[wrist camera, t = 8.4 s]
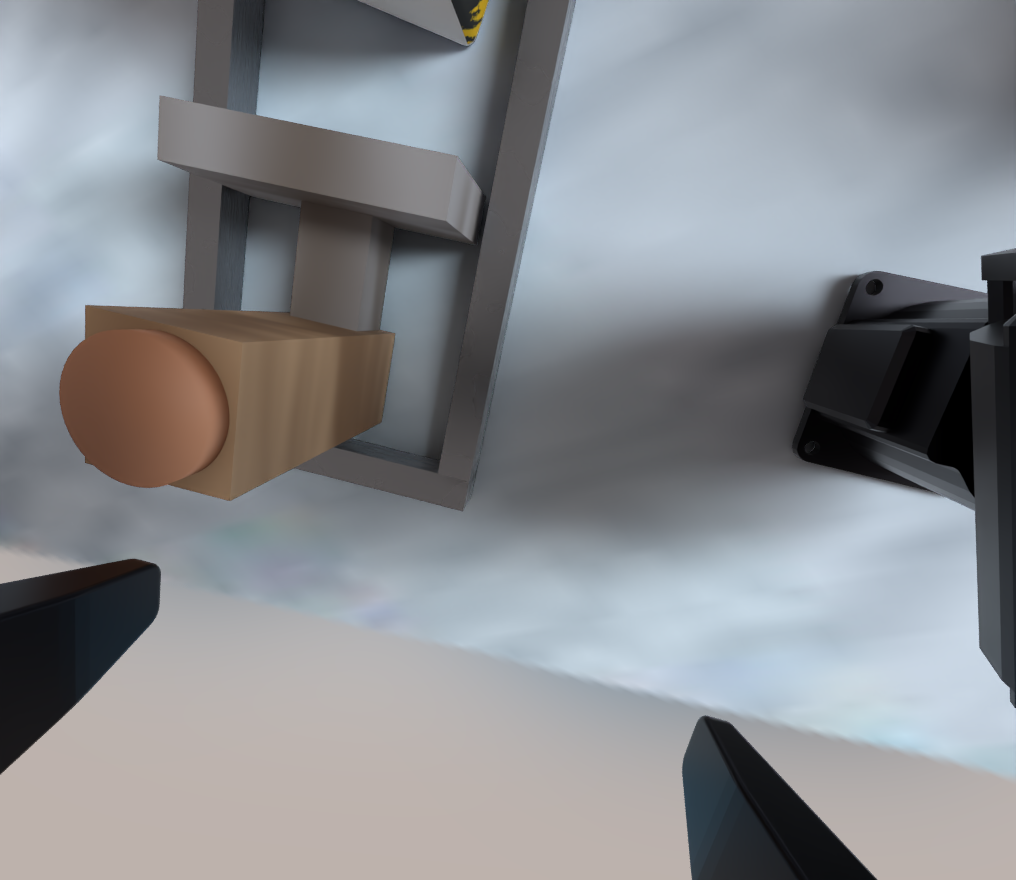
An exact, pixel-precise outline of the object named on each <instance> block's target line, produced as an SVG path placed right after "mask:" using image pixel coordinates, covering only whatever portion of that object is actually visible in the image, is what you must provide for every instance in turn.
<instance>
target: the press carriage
mask: <svg viewBox="0 0 1016 880" xmlns="http://www.w3.org/2000/svg"><path fill="white" fill-rule="evenodd" d="M158 160H160V161H163V162H165V163H168V164H170V165H173V166H176V167H178V168H181V169H183V170H186V171H188V172H191V173H193V174H196V175H198V176H201V177H204V178H206V179H209V180H211V181H214V182H216V183H219V184H221V185H224V186H226V187H229V188H232V189H234V190H237V191H239V192H242V193H244V194H247V195H249V196H252V197H255V198H259V199H264V200H268V201H273V202H278V203H282V204H287V205H292V206H296V207H301V211H300V221H299V230H298V240H297V250H296V260H295V269H294V279H293V289H292V299H291V308H290V313H289V312H261V311H233V310H205V309H177V308H149V307H121V306H94V305H85V340H84V341H82V342H81V343H80V344H79V345H78V346H77V347H76V348H75V349H74V350H73V351H72V353H71V354H70V356H69V357H68V359H67V361H66V363H65V365H64V368H63V371H62V375H61V380H60V391H59V395H60V405H61V411H62V415H63V418H64V422H65V424H66V427H67V429H68V431H69V434H70V435H71V437H72V439H73V441H74V443H75V444H76V446H77V447H78V448H79V450H80V451H81V452H82V454H83V455H84V456H85V463H88V464H91V465H94V466H95V467H96V468H97V469H99V470H100V471H101V472H103V473H104V474H106V475H107V476H109V477H111V478H113V479H115V480H117V481H119V482H121V483H124V484H127V485H131V486H136V487H144V488H152V487H160V486H164V485H171V486H175V487H179V488H182V489H186V490H190V491H194V492H198V493H201V494H205V495H209V496H213V497H217V498H220V499H224V500H228V501H231V500H233V499H235V498H237V497H239V496H240V495H242V494H244V493H246V492H248V491H250V490H252V489H254V488H256V487H258V486H260V485H262V484H264V483H266V482H267V481H269V480H271V479H273V478H275V477H277V476H279V475H281V474H283V473H285V472H287V471H289V470H291V469H293V468H294V467H296V466H298V465H300V464H302V463H304V462H306V461H308V460H310V459H312V458H314V457H316V456H318V455H320V454H321V453H323V452H325V451H327V450H329V449H331V448H333V447H335V446H337V445H339V444H341V443H343V442H345V441H346V440H348V439H350V438H352V437H354V436H356V435H358V434H360V433H362V432H364V431H366V430H368V429H370V428H372V427H373V426H375V425H377V424H379V423H381V422H382V416H383V410H384V403H385V397H386V391H387V384H388V378H389V371H390V365H391V359H392V352H393V346H394V339H395V333H391V332H387V331H383V330H380V324H381V317H382V310H383V303H384V297H385V290H386V283H387V276H388V270H389V263H390V256H391V249H392V243H393V236H394V229H395V228H398V229H403V230H407V231H412V232H417V233H421V234H426V235H431V236H435V237H440V238H444V239H449V240H454V241H458V242H463V243H468V244H472V245H477V242H478V237H479V232H480V226H481V221H482V216H483V210H484V205H485V200H486V196H485V195H484V194H483V192H482V191H481V189H480V188H479V186H478V185H477V183H476V182H475V181H474V179H473V178H472V176H471V175H470V173H469V172H468V171H467V169H466V168H465V166H464V165H463V163H462V162H461V160H460V159H459V158H458V156H455V155H450V154H445V153H440V152H435V151H430V150H425V149H420V148H416V147H411V146H406V145H401V144H396V143H391V142H386V141H381V140H376V139H371V138H366V137H361V136H356V135H352V134H347V133H342V132H337V131H332V130H327V129H322V128H317V127H312V126H307V125H302V124H297V123H293V122H288V121H283V120H278V119H273V118H268V117H263V116H258V115H253V114H248V113H243V112H238V111H234V110H229V109H224V108H219V107H214V106H209V105H204V104H199V103H194V102H189V101H184V100H179V99H174V98H170V97H165V96H160V102H159V131H158Z"/></svg>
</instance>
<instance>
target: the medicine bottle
mask: <svg viewBox="0 0 1016 880" xmlns="http://www.w3.org/2000/svg"><path fill="white" fill-rule="evenodd" d="M357 1H360V2H362V3H364V4H367V5H369V6H372V7H374V8H376V9H379V10H381V11H383V12H386V13H388V14H391V15H393V16H395V17H398V18H400V19H402V20H405V21H407V22H410V23H412V24H414V25H417V26H419V27H421V28H424V29H426V30H429V31H431V32H433V33H436V34H438V35H440V36H443V37H445V38H448V39H450V40H452V41H455V42H457V43H459V44H462V45H466V46H469V45H471V44H473V43H474V41H475V40H476V38H477V35H478V32H479V29H480V26H481V23H482V20H483V17H484V14H485V11H486V8H487V5H488V2H489V0H357Z"/></svg>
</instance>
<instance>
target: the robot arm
mask: <svg viewBox="0 0 1016 880" xmlns="http://www.w3.org/2000/svg"><path fill="white" fill-rule="evenodd" d="M981 272H982V280H987V289H988V294H987V293H983V292H978V291H973V290H968V289H963V288H959V287H954V286H949V285H944V284H939V283H934V282H930V281H925V280H920V279H915V278H910V277H906V276H901V275H896V274H891V273H886V272H881V271H873V272H867V273H864V274H861V275H860V276H859V277H857V278H856V279H855V281H854V282H853V284H852V286H851V289H850V291H849V294H848V297H847V299H846V302H845V305H844V307H843V310H842V313H841V315H840V318H839V321H838V323H837V325H836V326H834V327H833V328H831V329H829V331H828V333H827V335H826V338H825V341H824V344H823V346H822V349H821V352H820V354H819V357H818V360H817V362H816V365H815V368H814V370H813V373H812V376H811V379H810V381H809V384H808V387H807V389H806V392H805V395H804V398H803V400H804V402H805V404H806V409H805V411H804V414H803V417H802V419H801V422H800V425H799V427H798V430H797V433H796V435H795V438H794V441H793V445H792V449H793V452H794V453H795V455H796V456H797V457H799V458H801V459H802V460H805V461H807V462H811V463H815V464H819V465H823V466H828V467H832V468H836V469H840V470H845V471H849V472H853V473H857V474H861V475H866V476H870V477H874V478H878V479H883V480H887V481H891V482H895V483H900V484H904V485H908V486H912V487H917V488H921V489H925V490H929V491H933V492H936V493H938V494H940V495H942V496H944V497H946V498H949V499H951V500H953V501H955V502H957V503H959V504H961V505H964V506H966V507H968V508H970V509H972V510H974V511H975V522H976V553H977V584H978V615H979V646H980V649H981V651H982V652H983V654H984V655H985V657H986V658H987V659H988V661H989V662H990V664H991V665H992V667H993V668H994V670H995V671H996V673H997V674H998V676H999V677H1000V678H1001V680H1002V681H1003V682H1004V683H1005V684H1006V685H1007V686H1008V687H1009V688H1010V702H1011V703H1012V704H1013V706H1014V707H1015V708H1016V248H1015V249H1010V250H1006V251H1001V252H996V253H992V254H987V255H983V256H981ZM869 281H873V282H874V283H875V285H876V289H875V291H874V293H873V294H871V295H869V294H868V293H867V292H866V285H867V284H868V282H869ZM810 441H814V443H815V447H814V449H813V450H812V451H810V452H805V450H804V449H805V445H806V444H807V443H809V442H810ZM160 582H161V571H160V569H159V567H158V566H157V565H156V564H153V563H150V562H146V561H142V560H139V559H127V560H122V561H117V562H111V563H106V564H101V565H96V566H91V567H86V568H80V569H75V570H70V571H65V572H60V573H55V574H49V575H45V576H39V577H34V578H29V579H23V580H19V581H13V582H8V583H3V584H0V774H1V773H2V772H4V771H5V770H6V769H7V768H8V767H9V766H10V765H11V764H12V763H13V762H14V761H16V759H18V758H19V757H20V756H21V755H22V754H23V753H24V752H25V751H27V750H28V749H29V748H30V747H31V746H32V745H33V744H34V743H35V742H36V741H37V740H38V739H40V738H41V737H42V736H43V735H44V734H45V733H46V732H47V731H48V730H49V729H50V728H52V727H53V726H54V725H55V724H56V723H57V722H58V721H59V720H60V719H61V718H62V717H63V716H64V715H65V714H66V713H68V712H69V711H70V710H71V709H72V708H73V707H74V706H75V705H76V704H77V703H78V702H79V701H80V700H81V699H82V698H83V697H84V695H85V694H86V693H88V691H89V690H90V689H91V688H92V687H93V686H94V685H95V684H96V683H97V682H98V681H99V680H100V679H101V678H102V676H103V675H104V674H105V673H106V672H107V671H108V670H109V669H110V668H111V667H112V666H113V665H114V663H115V662H116V661H117V660H118V659H119V658H120V657H121V656H122V655H123V654H124V653H125V652H126V651H127V649H128V648H129V647H130V646H131V645H132V644H133V643H134V642H135V641H136V640H137V639H138V638H139V636H140V635H141V634H142V633H143V632H144V631H145V630H146V629H147V628H148V627H149V626H150V625H151V623H152V622H153V621H154V619H155V618H156V615H157V613H158V610H159V604H160ZM682 774H683V775H682V776H683V787H684V796H685V797H684V798H685V807H686V808H685V809H686V819H687V831H688V842H689V854H690V865H691V874H692V880H877V879H876V878H875V877H874V875H872V873H871V872H870V871H869V870H868V869H867V868H866V867H865V866H864V865H863V864H862V863H861V862H860V861H859V859H858V858H857V857H856V856H855V855H854V854H853V853H852V852H851V851H850V850H849V849H848V848H847V847H846V846H845V845H844V844H843V842H842V841H841V840H840V839H839V838H838V837H837V836H836V835H835V834H834V833H833V832H832V831H831V830H830V829H829V828H828V826H827V825H826V824H825V823H824V822H823V821H822V820H821V819H820V818H819V817H818V816H817V815H816V814H815V813H814V811H813V810H812V809H811V808H810V807H809V806H808V805H807V804H806V803H805V802H804V801H803V800H802V799H801V798H800V797H799V796H798V794H796V792H795V791H794V790H793V789H792V788H791V787H790V786H789V785H788V784H787V783H786V782H785V781H784V779H782V777H781V776H780V775H779V774H778V773H777V772H776V771H775V770H774V769H773V768H772V767H771V766H770V765H769V763H768V762H767V761H766V760H765V759H764V758H763V757H762V756H761V755H760V754H759V753H758V752H757V751H756V750H755V749H754V747H752V745H751V744H750V743H749V742H748V741H747V740H746V739H745V738H744V737H743V736H742V735H741V734H740V733H739V731H738V730H737V729H736V728H735V727H734V726H733V725H732V724H731V723H729V722H727V721H724V720H721V719H717V718H714V717H710V716H706V715H705V716H702V717H700V719H699V720H698V722H697V724H696V726H695V729H694V731H693V734H692V737H691V739H690V742H689V745H688V747H687V750H686V753H685V755H684V759H683V767H682Z"/></svg>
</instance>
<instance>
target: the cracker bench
mask: <svg viewBox="0 0 1016 880" xmlns="http://www.w3.org/2000/svg"><path fill="white" fill-rule="evenodd" d="M575 2H576V0H528V3H527V8H526V13H525V19H524V24H523V29H522V34H521V40H520V45H519V50H518V55H517V61H516V66H515V71H514V76H513V82H512V87H511V92H510V97H509V103H508V108H507V113H506V118H505V124H504V129H503V134H502V139H501V145H500V150H499V155H498V160H497V166H496V171H495V176H494V181H493V186H492V192H491V197H490V202H489V207H488V213H487V218H486V223H485V228H484V234H483V239H482V244H481V249H480V255H479V260H478V265H477V270H476V276H475V281H474V286H473V291H472V297H471V302H470V307H469V312H468V318H467V323H466V328H465V333H464V339H463V344H462V349H461V354H460V360H459V365H458V370H457V375H456V381H455V386H454V391H453V396H452V402H451V407H450V412H449V417H448V423H447V428H446V433H445V438H444V444H443V449H442V454H441V459H440V461H439V460H435V459H431V458H427V457H423V456H419V455H415V454H411V453H407V452H403V451H399V450H395V449H391V448H387V447H383V446H379V445H375V444H371V443H367V442H363V441H359V440H355V439H351V438H350V439H348V440H346V441H345V442H343V443H341V444H339V445H337V446H335V447H333V448H331V449H329V450H327V451H325V452H323V453H321V454H320V455H318V456H316V457H314V458H312V459H310V460H308V461H306V462H304V463H302V464H300V465H298V466H296V467H294V468H296V469H300V470H304V471H308V472H312V473H316V474H320V475H324V476H328V477H331V478H335V479H339V480H343V481H347V482H351V483H355V484H359V485H363V486H367V487H371V488H374V489H378V490H382V491H386V492H390V493H394V494H398V495H402V496H406V497H410V498H414V499H417V500H421V501H425V502H429V503H433V504H437V505H441V506H445V507H449V508H453V509H457V510H460V511H463V510H464V508H465V507H466V505H467V503H468V502H469V500H470V498H471V495H472V490H473V485H474V480H475V476H476V471H477V466H478V461H479V457H480V452H481V447H482V442H483V438H484V433H485V428H486V423H487V419H488V414H489V409H490V405H491V400H492V395H493V390H494V386H495V381H496V376H497V371H498V367H499V362H500V357H501V352H502V348H503V343H504V338H505V333H506V329H507V324H508V319H509V314H510V310H511V305H512V300H513V296H514V291H515V286H516V281H517V277H518V272H519V267H520V262H521V258H522V253H523V248H524V243H525V239H526V234H527V229H528V224H529V220H530V215H531V210H532V205H533V201H534V196H535V191H536V187H537V182H538V177H539V172H540V168H541V163H542V158H543V153H544V149H545V144H546V139H547V134H548V130H549V125H550V120H551V115H552V111H553V106H554V101H555V96H556V92H557V87H558V82H559V78H560V73H561V68H562V63H563V59H564V54H565V49H566V44H567V40H568V35H569V30H570V25H571V21H572V16H573V11H574V6H575ZM264 3H265V0H198V18H197V38H196V58H195V78H194V98H193V102H194V103H199V104H204V105H209V106H214V107H219V108H224V109H229V110H234V111H238V112H243V113H248V114H253V115H256V105H257V93H258V80H259V67H260V54H261V41H262V29H263V16H264ZM248 208H249V195H247V194H244V193H242V192H239V191H237V190H234V189H232V188H229V187H226V186H224V185H221V184H219V183H216V182H214V181H211V180H209V179H206V178H204V177H201V176H198V175H196V174H193V173H191V172H190V178H189V199H188V219H187V239H186V259H185V279H184V299H183V309H205V310H233V311H240V310H241V297H242V285H243V272H244V259H245V246H246V233H247V221H248Z"/></svg>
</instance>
